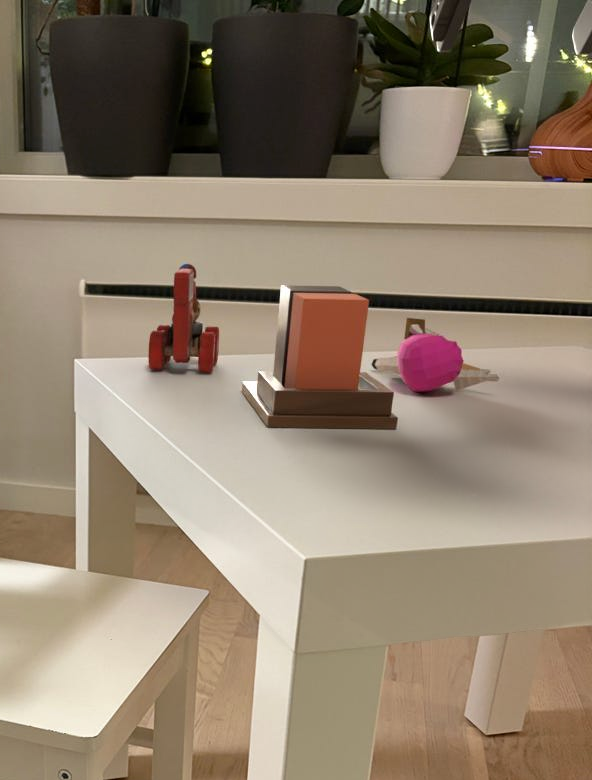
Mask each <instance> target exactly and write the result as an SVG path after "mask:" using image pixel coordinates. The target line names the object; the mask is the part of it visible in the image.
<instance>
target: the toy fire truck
mask: <svg viewBox="0 0 592 780" xmlns="http://www.w3.org/2000/svg"><path fill="white" fill-rule="evenodd" d="M173 275H174V276H173V307H172V308H173V314H172V317H171V322H172V323H171V324H170V325H169V324H159V325H157V328H156V330H152V331H151V332H150V334H149V340H148V353H147V354H148V357H147V359H148V367H149V369H150V370H151V371H163V370H164V368H165V365H166V363H169V362H170V361H171V358H172V359H173V360H174V363H176V364H181V363H182V364H185V363H187V364H188V363H189V362H190V359H191V357H193V358H197V369H198V372H200V373H212V372H213V371H214V366H215V365H217V364H218V358H219V347H220V327H219V326H215V325H214V326H213V325H207V326H206V327H205V329H204V327H203V326H204V325H203V322H200V321H197V320H198V319H199V317H200V315H201V310H202V309H201V304H200V302H199V300H198V299H197V282H196V281H195V279H197V270H196V268H195V266H194V265H193V264H191V263H184V264H182V265H181V266H180V267H179V269H177V271H175V272H174V273H173ZM203 329H204V331H203Z"/></svg>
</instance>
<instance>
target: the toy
mask: <svg viewBox="0 0 592 780" xmlns="http://www.w3.org/2000/svg"><path fill="white" fill-rule="evenodd" d="M462 351H463V350H462V348H461V347H460V346H459V345H458V342H457V341H456V340H455V341H454V340H448V339H447V338H446V337H445V336H444V335H440V333H437V331H433V330H431V329H429V328H427V327H426V319H425V318H424V319H423V318H414V317H413V318H412V317H406V323H405V330H404V338H403V341H401V342H400V345H399V347H398V351H397V354H396V355H395V356H390V357H389V356H388V357H379V358H378V357H377V358H373V360H372V362H371V363H370V365H371V367H372V368H373V369H374V370H377V371H379V372H386V373H392V374H395V375H400V377H401V379H402V382H403V383H404V384H405V385H406V386H407V387H408V388H409V389H410V390H412V391H413V392H430V391H433V390H436V389H439V388H441V387H444V386H445V385H447V384H449V383H453V385H454V390H455V391H456V392H457V391H460V390H463V389H466V388H469V387H472V386H476V385H479V384H481V383H485V382H499V380H500V377H499V375H498V374H497V373H495V374H494V373H491V370H490V369H487V368H479V367H476V366H473V365H470V364H468V363H464V362H465V361H464V359H463V355H462V354H463V353H462Z"/></svg>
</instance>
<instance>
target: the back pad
mask: <svg viewBox="0 0 592 780" xmlns="http://www.w3.org/2000/svg"><path fill="white" fill-rule="evenodd" d="M369 304H370V299H368V298H366V297H364V296H361V295H359V294H357V293H351V294H332V293H293V303H292V314H291V324H290V335H289V345H288V356H287V366H286V377H285V387H284V388H294V389H358V384H359V376H360V372H361V367H362V361H363V360H362V359H363V352H364V344H365V336H366V328H367V322H368V321H367V320H368V313H369Z"/></svg>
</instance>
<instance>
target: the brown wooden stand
mask: <svg viewBox="0 0 592 780" xmlns="http://www.w3.org/2000/svg"><path fill="white" fill-rule="evenodd" d="M279 293H280V295H279V305H278V306H279V307H278V315H277V316H278V317H277V325H276V326H277V328H276V340H275V351H274V360H273V361H274V362H273V370H272V371H273V372H271V371H269V370H258V372H257V381H247V380H246V381H244V380H243V381H242V382H241V392H242V394H243V396H244V397H245V398H246V400H247V401H248V402H249V403H250V405H251V406H252V408H253V409H254V410H255V412H256V413H257V415H258V416H259V418H260V419H261V420H262V422H263V423H264V425H265V426H266V427H267V428H281V429H282V428H283V429H285V428H286V429H288V428H289V429H297V428H298V429H351V430H352V429H355V430H356V429H360V430H397V429H398V428H397V427H398V421H399V417H398V416H396V415H395V414H394V413H393V412H392V410H393V402H394V395H395V392H394V391H393V390H392V389H390V388H388V387H387V385H386V386H385V384H383V383H382V382H380V381H379V380H378V379H376V378H375V377H374V376H372V375H371V374H369V373H368V372H364V371H363V372H361V371H360V376H359V384H358V389H294V388H284V387H285V377H286V366H287V356H288V345H289V335H290V324H291V314H292V303H293V293H332V294H352V291H350V290H348V289H346V288H344V287H343V286H342V287H341V286H340V285H339V286H335V285H328V286H327V285H290V284H289V285H288V284H287V285H285V284H281V286H280V292H279Z"/></svg>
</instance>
